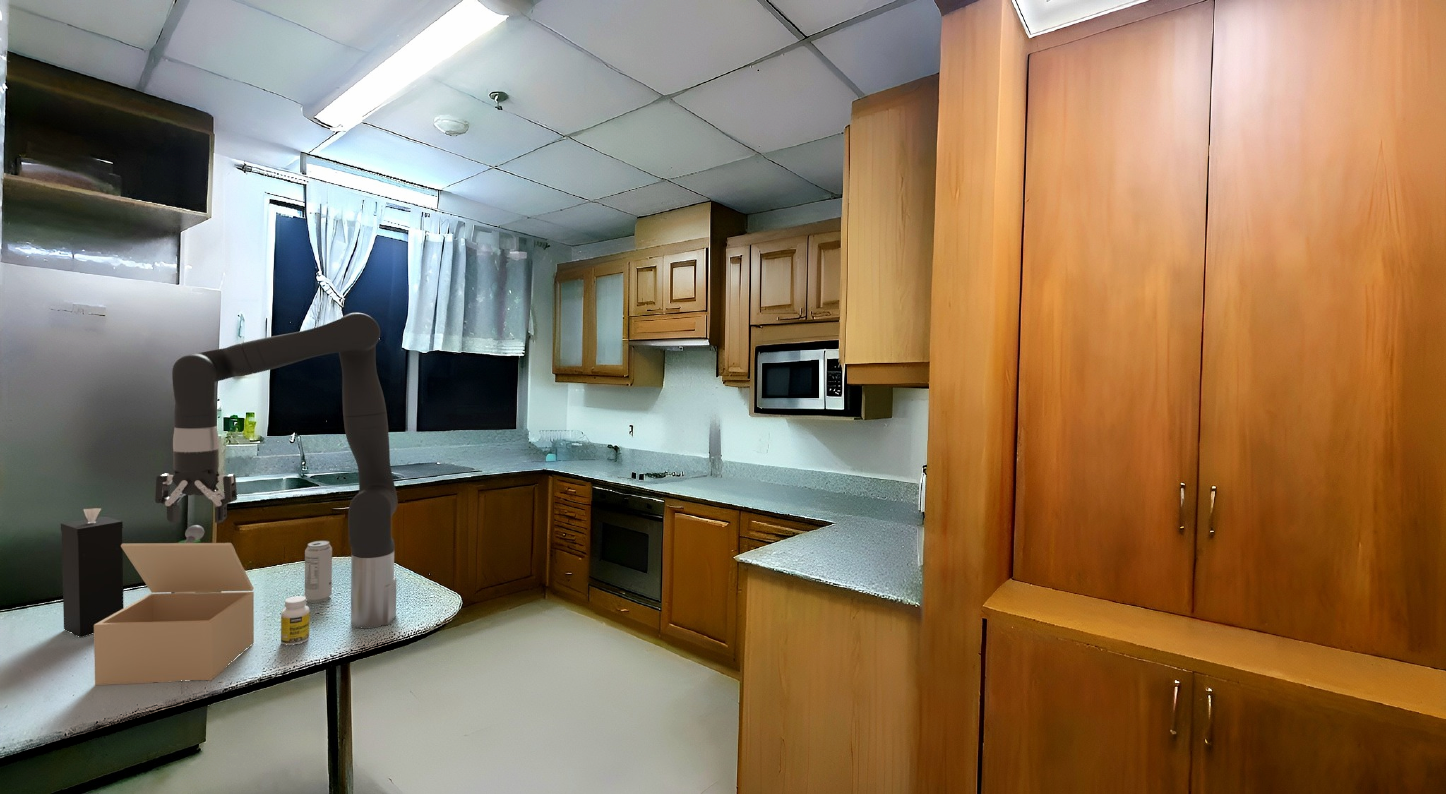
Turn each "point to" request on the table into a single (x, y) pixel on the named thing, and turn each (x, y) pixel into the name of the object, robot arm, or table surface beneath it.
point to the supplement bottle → (295, 621)
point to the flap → (188, 565)
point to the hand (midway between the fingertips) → (197, 522)
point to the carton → (173, 637)
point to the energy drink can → (318, 571)
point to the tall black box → (91, 571)
